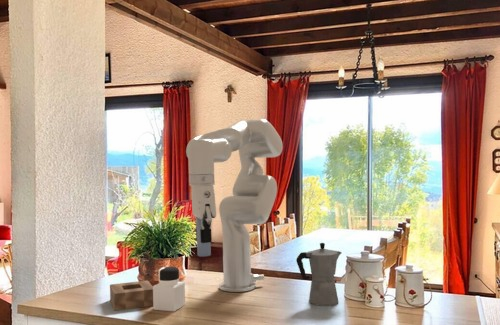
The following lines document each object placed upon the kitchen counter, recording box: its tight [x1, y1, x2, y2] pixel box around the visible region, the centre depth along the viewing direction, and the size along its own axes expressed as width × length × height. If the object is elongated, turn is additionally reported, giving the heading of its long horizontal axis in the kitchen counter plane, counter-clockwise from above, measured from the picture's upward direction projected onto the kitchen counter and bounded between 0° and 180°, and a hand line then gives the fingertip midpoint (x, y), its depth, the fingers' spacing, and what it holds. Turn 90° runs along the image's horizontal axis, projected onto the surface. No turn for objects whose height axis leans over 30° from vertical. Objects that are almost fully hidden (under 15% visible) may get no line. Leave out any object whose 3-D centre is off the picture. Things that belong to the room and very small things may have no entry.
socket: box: [109, 280, 154, 311], centre depth 149 cm, size 12×12×5 cm
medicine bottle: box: [152, 265, 186, 312], centre depth 144 cm, size 7×7×12 cm
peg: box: [195, 216, 212, 258], centre depth 143 cm, size 4×4×12 cm
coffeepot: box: [295, 242, 342, 307], centre depth 146 cm, size 15×9×18 cm, turn 110°
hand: (203, 240), depth 143 cm, fingers closed on peg, 4 cm apart
